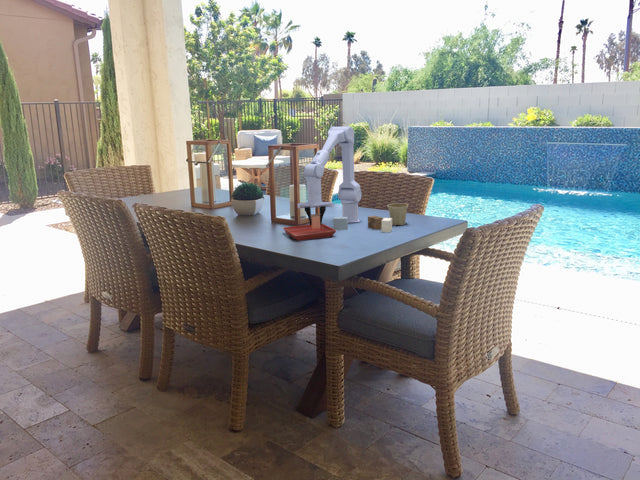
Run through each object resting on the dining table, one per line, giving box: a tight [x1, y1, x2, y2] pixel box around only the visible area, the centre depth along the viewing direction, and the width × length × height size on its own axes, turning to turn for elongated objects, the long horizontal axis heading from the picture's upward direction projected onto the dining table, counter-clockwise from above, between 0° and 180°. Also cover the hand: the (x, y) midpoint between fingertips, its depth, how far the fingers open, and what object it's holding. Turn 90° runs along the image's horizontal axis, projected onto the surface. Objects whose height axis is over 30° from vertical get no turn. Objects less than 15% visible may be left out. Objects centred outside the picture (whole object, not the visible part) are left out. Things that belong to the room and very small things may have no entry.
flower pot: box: [386, 202, 409, 226], centre depth 234 cm, size 9×9×9 cm
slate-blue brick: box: [332, 216, 349, 231], centre depth 229 cm, size 6×4×5 cm, turn 83°
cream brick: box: [381, 217, 393, 233], centre depth 223 cm, size 6×4×5 cm, turn 163°
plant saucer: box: [282, 223, 337, 241], centre depth 220 cm, size 18×18×3 cm
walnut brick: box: [367, 215, 384, 231], centre depth 228 cm, size 6×4×5 cm, turn 33°
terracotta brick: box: [311, 213, 320, 229], centre depth 222 cm, size 6×4×5 cm, turn 3°
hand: (315, 224), depth 223 cm, fingers open, 3 cm apart
